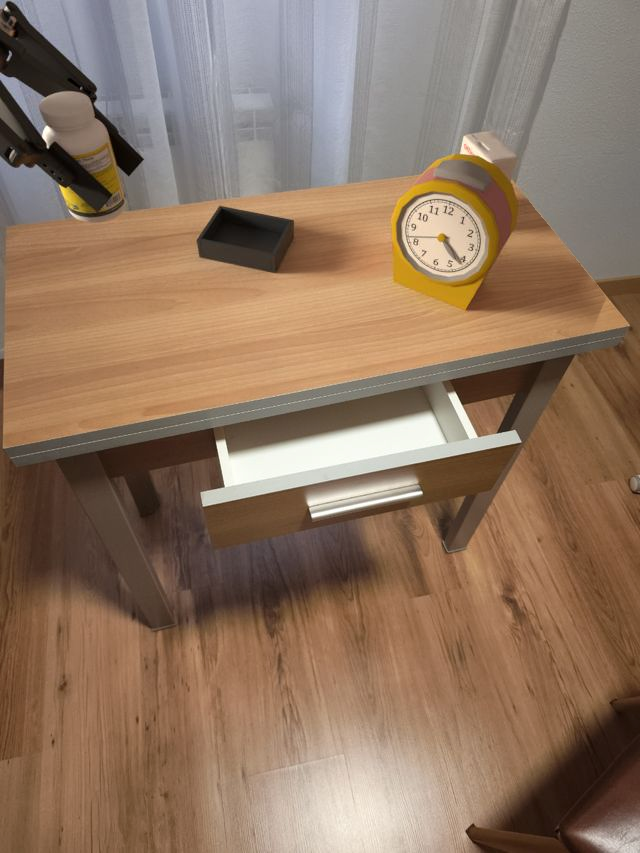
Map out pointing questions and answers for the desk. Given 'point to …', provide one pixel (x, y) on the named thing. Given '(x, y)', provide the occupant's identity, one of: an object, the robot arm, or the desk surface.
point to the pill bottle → (83, 151)
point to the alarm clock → (452, 228)
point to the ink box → (490, 151)
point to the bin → (246, 239)
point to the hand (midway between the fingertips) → (121, 185)
